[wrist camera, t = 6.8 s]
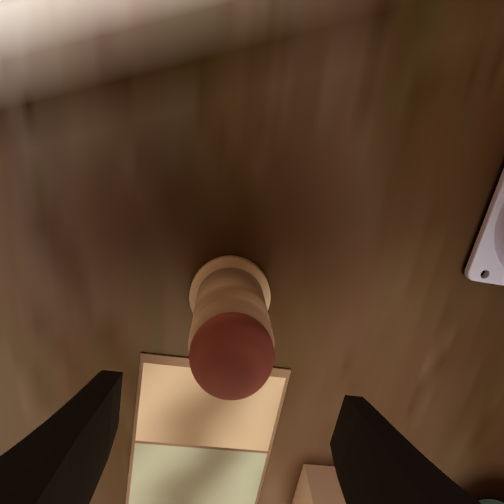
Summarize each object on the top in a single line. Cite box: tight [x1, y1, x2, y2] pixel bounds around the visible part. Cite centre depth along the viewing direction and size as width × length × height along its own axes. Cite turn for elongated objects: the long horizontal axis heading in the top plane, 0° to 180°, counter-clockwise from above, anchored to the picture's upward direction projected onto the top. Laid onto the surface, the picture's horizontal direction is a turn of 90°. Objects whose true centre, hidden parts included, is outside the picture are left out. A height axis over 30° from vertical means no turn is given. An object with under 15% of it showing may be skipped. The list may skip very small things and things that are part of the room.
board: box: [126, 352, 291, 504], centre depth 24 cm, size 9×19×1 cm, turn 170°
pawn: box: [188, 255, 275, 400], centre depth 16 cm, size 4×4×8 cm
